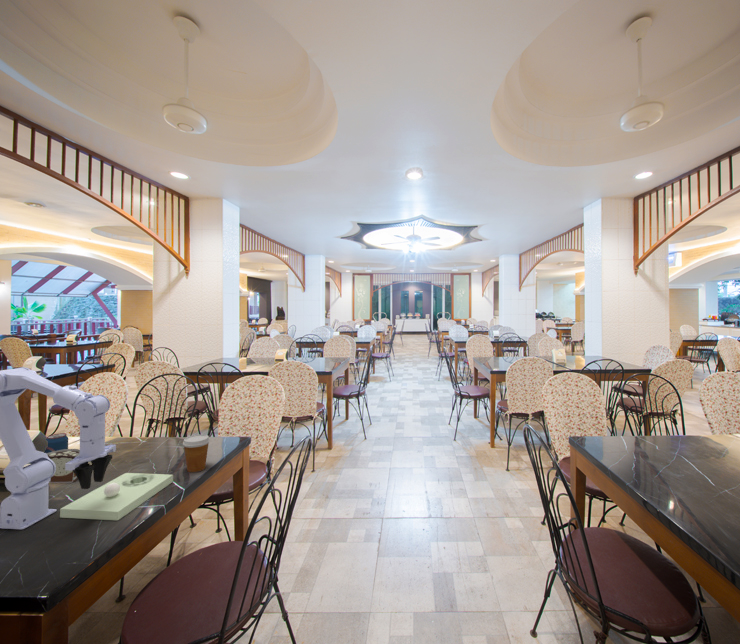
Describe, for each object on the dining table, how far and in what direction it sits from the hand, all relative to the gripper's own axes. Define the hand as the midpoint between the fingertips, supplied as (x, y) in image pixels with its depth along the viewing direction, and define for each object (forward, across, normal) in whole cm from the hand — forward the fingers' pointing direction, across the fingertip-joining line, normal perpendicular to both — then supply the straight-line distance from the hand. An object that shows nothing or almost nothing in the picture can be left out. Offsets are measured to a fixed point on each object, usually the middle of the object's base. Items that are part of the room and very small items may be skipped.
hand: (92, 484), depth 99 cm
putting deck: (+9, +11, 0) cm, 14 cm away
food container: (+10, +22, +31) cm, 39 cm away
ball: (+5, +7, 0) cm, 9 cm away
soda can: (+10, +32, +46) cm, 57 cm away
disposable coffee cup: (+10, +34, -11) cm, 37 cm away
